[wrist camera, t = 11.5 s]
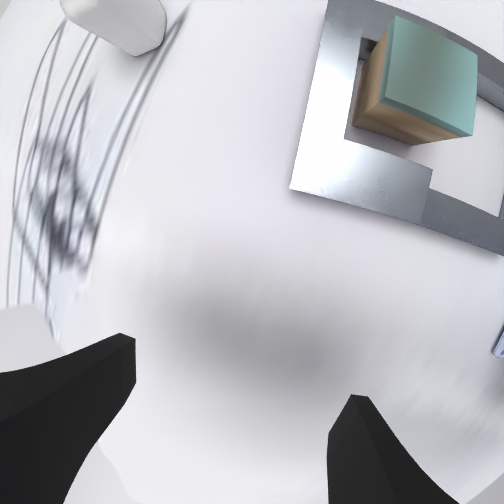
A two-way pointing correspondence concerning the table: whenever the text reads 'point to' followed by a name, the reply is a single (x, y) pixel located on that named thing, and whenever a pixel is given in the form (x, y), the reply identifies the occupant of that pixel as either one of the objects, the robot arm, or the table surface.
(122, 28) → the eye dropper bottle
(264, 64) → the table surface
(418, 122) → the plug block
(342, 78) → the keyhole plate
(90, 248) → the table surface
